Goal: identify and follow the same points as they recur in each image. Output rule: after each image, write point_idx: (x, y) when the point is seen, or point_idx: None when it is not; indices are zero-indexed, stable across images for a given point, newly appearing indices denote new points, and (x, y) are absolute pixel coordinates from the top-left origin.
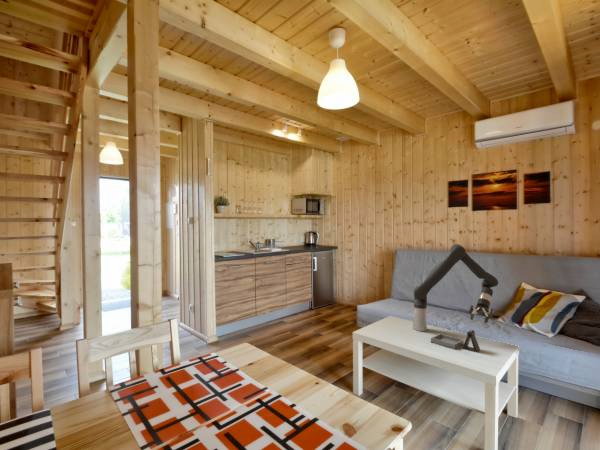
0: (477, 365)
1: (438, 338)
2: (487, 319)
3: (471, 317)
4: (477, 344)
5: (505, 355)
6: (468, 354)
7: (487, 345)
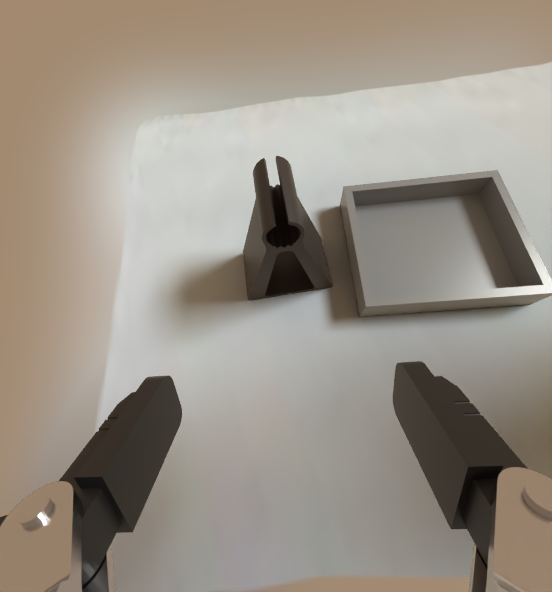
0: (198, 142)
1: (508, 263)
2: (101, 432)
3: (421, 373)
4: (251, 272)
5: (123, 329)
6: None
7: (242, 420)
